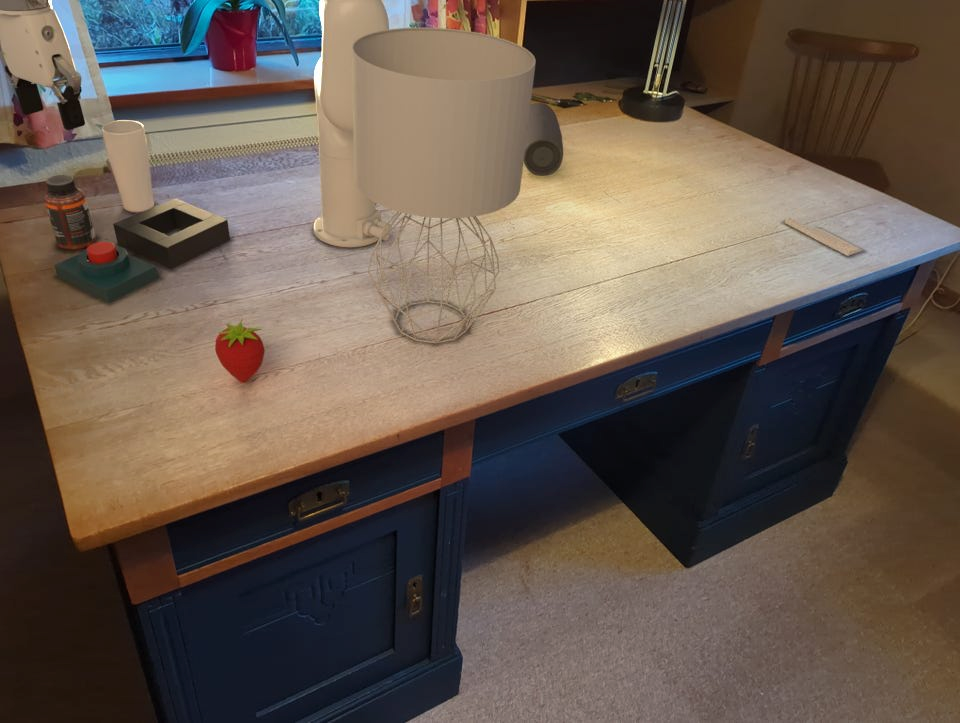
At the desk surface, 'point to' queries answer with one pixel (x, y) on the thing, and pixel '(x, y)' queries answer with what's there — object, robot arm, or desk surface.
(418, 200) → the table lamp
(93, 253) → the switch button
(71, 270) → the switch box
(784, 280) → the desk surface
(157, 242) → the socket block
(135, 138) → the drinking glass
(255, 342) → the strawberry
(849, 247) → the thin wooden strip
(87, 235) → the supplement bottle
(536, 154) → the bluetooth speaker
